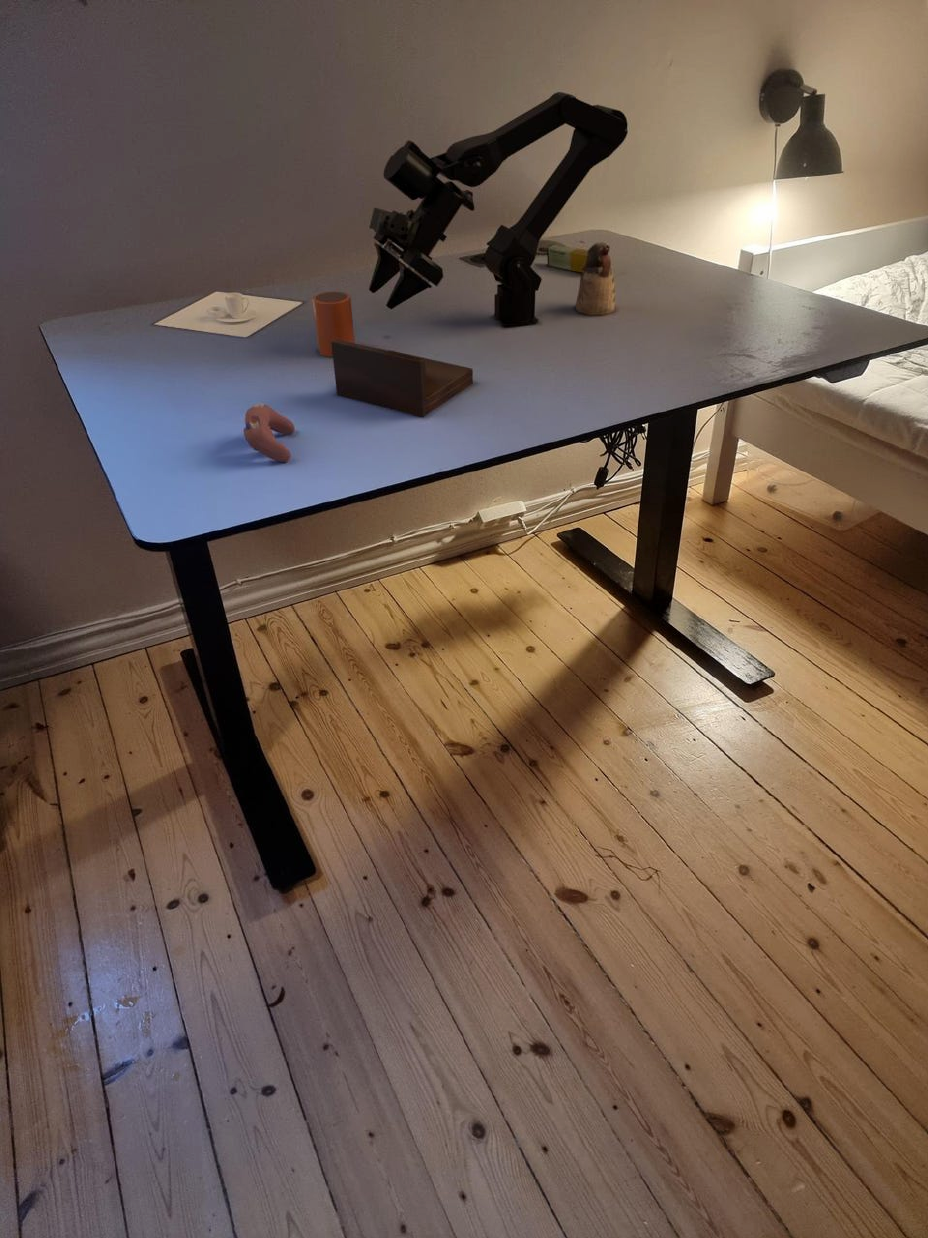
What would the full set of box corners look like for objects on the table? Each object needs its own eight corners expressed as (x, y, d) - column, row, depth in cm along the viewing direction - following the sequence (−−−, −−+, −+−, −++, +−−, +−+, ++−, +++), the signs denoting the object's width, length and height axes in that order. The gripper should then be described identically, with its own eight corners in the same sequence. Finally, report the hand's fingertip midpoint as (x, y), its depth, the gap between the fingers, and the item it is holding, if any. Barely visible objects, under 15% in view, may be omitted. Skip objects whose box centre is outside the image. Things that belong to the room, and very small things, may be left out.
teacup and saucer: (202, 321, 164) (198, 299, 162) (227, 307, 170) (223, 285, 168) (242, 326, 162) (239, 304, 159) (266, 312, 168) (263, 290, 165)
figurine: (604, 301, 170) (609, 235, 162) (621, 312, 164) (627, 245, 157) (570, 305, 168) (574, 239, 161) (586, 317, 163) (590, 249, 155)
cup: (360, 345, 154) (355, 292, 148) (346, 358, 149) (341, 304, 143) (327, 342, 155) (321, 289, 149) (313, 355, 150) (306, 301, 145)
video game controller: (271, 442, 128) (241, 403, 124) (298, 427, 127) (269, 387, 123) (265, 475, 120) (233, 434, 116) (293, 460, 119) (262, 418, 115)
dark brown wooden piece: (390, 364, 147) (386, 312, 141) (473, 383, 140) (472, 330, 135) (336, 395, 137) (330, 341, 132) (422, 417, 130) (420, 361, 125)
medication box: (546, 266, 188) (545, 246, 186) (554, 262, 190) (553, 242, 187) (593, 275, 182) (593, 255, 179) (601, 270, 183) (601, 251, 180)
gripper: (376, 175, 148) (326, 257, 152) (415, 199, 134) (358, 288, 138) (426, 215, 155) (376, 293, 159) (467, 242, 141) (412, 326, 145)
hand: (379, 299), depth 150 cm, fingers open, 9 cm apart
